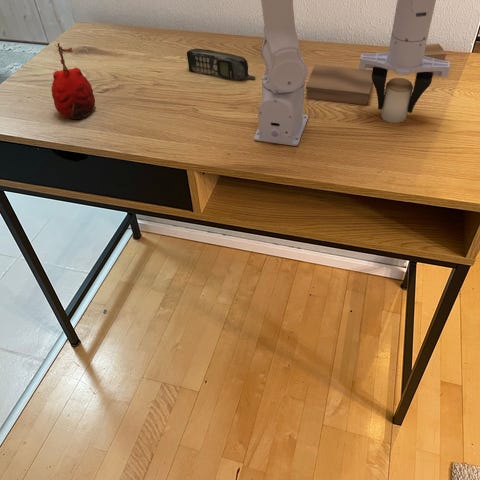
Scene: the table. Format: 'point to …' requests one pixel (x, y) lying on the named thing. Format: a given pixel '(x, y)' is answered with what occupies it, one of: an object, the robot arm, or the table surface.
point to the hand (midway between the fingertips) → (395, 108)
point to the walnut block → (435, 51)
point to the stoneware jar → (396, 100)
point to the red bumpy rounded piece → (71, 91)
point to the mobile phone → (218, 64)
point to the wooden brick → (339, 84)
